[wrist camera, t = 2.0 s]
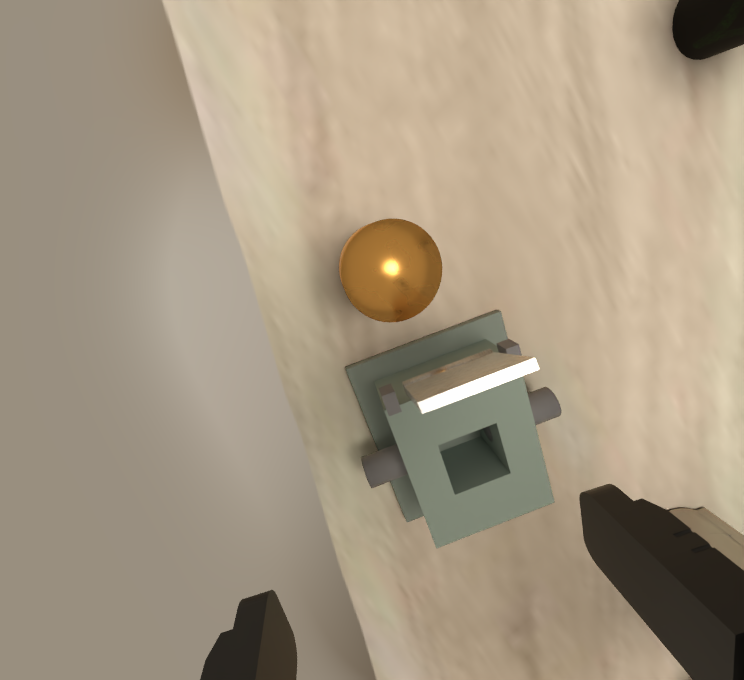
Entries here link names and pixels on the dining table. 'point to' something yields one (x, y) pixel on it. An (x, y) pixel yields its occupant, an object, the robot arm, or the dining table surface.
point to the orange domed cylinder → (390, 270)
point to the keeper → (466, 378)
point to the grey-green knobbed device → (455, 435)
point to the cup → (708, 27)
